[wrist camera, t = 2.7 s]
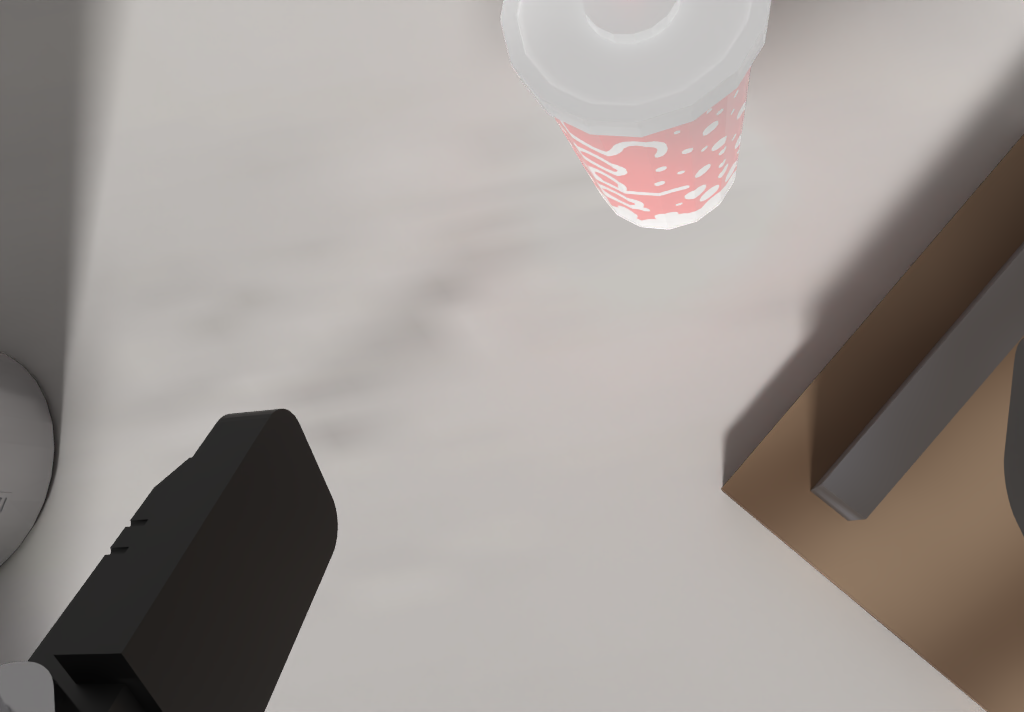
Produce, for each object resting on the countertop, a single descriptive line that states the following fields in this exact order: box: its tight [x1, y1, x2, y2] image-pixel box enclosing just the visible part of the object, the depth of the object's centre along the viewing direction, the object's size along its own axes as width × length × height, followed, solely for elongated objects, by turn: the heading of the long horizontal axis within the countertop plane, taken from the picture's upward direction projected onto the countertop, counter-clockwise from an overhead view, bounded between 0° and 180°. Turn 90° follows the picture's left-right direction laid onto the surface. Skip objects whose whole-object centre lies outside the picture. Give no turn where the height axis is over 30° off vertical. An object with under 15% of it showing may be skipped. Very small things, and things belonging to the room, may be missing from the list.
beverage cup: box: [500, 0, 771, 230], centre depth 21 cm, size 6×6×14 cm
